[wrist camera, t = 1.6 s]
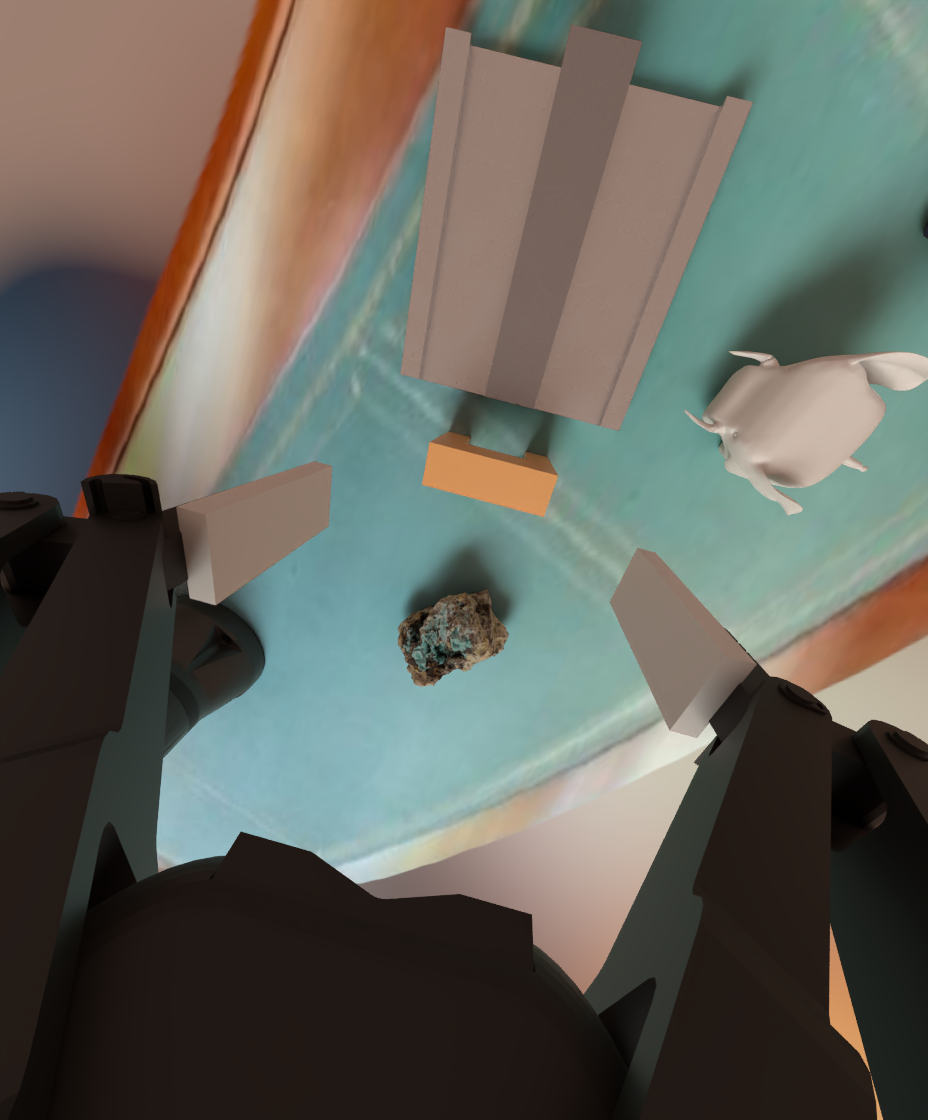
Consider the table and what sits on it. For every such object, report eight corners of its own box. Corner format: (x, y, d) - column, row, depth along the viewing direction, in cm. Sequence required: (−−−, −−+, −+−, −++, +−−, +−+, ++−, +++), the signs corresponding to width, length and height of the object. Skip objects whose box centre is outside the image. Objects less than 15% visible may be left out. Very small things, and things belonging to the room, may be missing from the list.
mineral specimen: (476, 568, 35) (436, 617, 29) (526, 635, 37) (498, 695, 31) (407, 601, 43) (365, 645, 37) (451, 655, 45) (417, 705, 39)
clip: (442, 465, 32) (422, 484, 25) (449, 431, 31) (429, 442, 24) (536, 489, 32) (543, 516, 25) (547, 457, 31) (558, 475, 23)
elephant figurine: (738, 316, 25) (843, 279, 17) (866, 401, 26) (1022, 403, 18) (647, 439, 29) (698, 456, 21) (761, 508, 30) (850, 548, 22)
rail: (406, 375, 29) (393, 372, 26) (450, 51, 21) (439, -8, 18) (613, 429, 29) (625, 432, 26) (736, 122, 21) (776, 73, 18)
